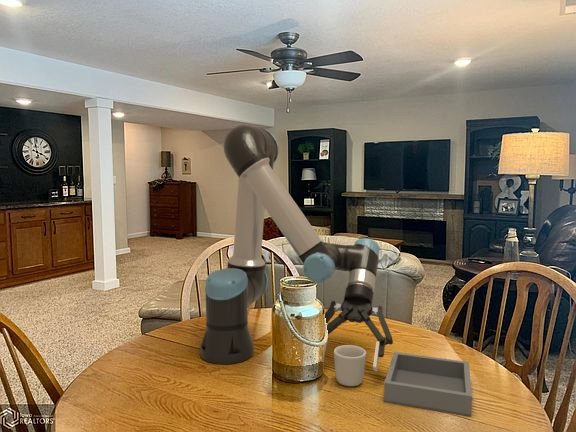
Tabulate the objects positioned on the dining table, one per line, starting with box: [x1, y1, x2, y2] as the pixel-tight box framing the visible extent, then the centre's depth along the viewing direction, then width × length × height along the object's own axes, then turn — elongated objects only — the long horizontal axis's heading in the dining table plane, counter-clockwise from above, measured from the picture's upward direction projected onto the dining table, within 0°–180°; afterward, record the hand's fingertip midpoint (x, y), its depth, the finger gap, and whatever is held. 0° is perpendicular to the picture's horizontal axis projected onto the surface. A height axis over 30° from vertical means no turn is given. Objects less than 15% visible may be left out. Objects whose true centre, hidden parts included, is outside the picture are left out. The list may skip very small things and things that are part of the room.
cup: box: [333, 344, 367, 387], centre depth 114 cm, size 11×8×8 cm
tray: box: [383, 351, 473, 417], centre depth 109 cm, size 18×18×4 cm
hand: (347, 365), depth 112 cm, fingers open, 13 cm apart
